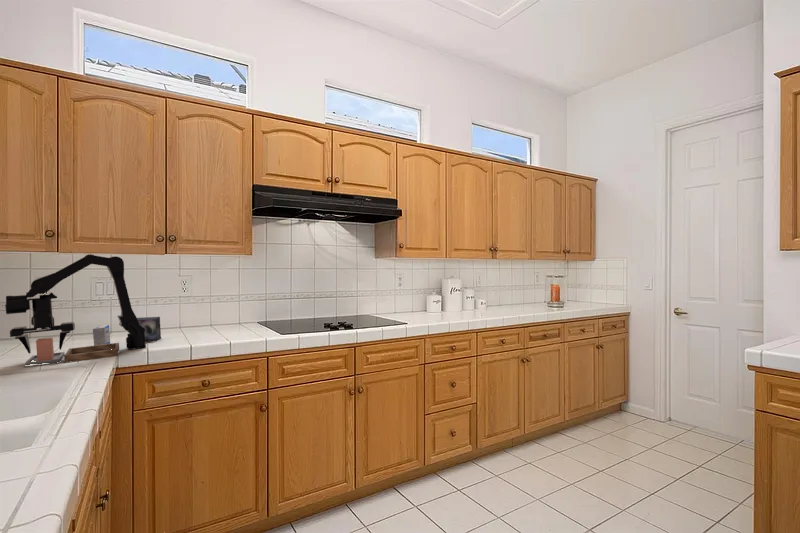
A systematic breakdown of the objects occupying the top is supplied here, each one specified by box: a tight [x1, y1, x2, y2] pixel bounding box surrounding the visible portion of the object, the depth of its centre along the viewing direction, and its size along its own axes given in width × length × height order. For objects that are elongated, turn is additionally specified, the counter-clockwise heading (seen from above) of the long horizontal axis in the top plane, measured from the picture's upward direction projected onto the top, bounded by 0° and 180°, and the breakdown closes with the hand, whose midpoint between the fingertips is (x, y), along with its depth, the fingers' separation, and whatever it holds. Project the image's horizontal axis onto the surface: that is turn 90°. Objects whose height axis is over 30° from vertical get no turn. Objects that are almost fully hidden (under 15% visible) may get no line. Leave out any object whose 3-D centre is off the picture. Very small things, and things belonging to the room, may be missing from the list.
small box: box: [137, 316, 162, 343], centre depth 199 cm, size 11×6×10 cm, turn 101°
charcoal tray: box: [24, 351, 66, 366], centre depth 165 cm, size 10×14×2 cm
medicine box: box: [92, 324, 111, 346], centre depth 190 cm, size 8×4×9 cm, turn 22°
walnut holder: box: [63, 342, 120, 363], centre depth 173 cm, size 17×15×2 cm
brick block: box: [35, 336, 55, 361], centre depth 165 cm, size 4×4×8 cm
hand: (45, 351), depth 165 cm, fingers open, 9 cm apart
